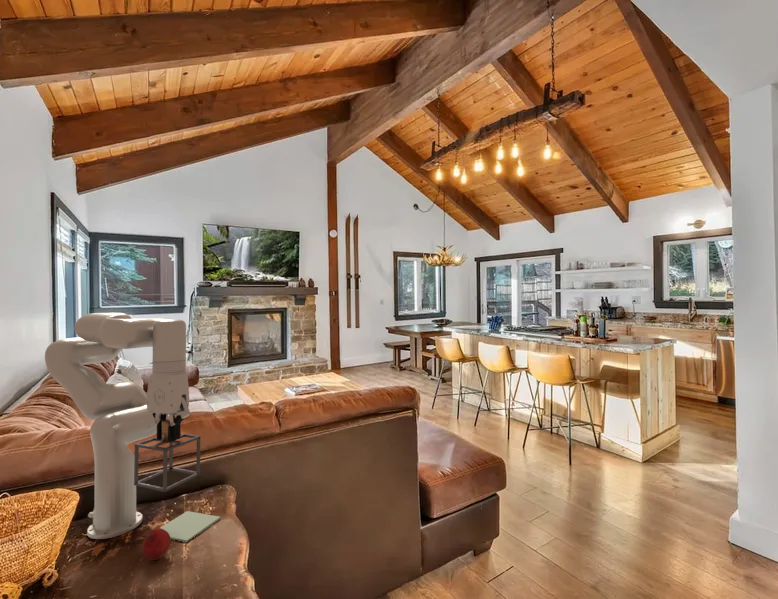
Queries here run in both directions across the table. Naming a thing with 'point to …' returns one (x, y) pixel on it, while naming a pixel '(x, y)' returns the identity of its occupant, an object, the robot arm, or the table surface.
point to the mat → (189, 525)
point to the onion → (156, 543)
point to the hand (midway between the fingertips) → (168, 438)
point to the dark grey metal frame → (165, 458)
